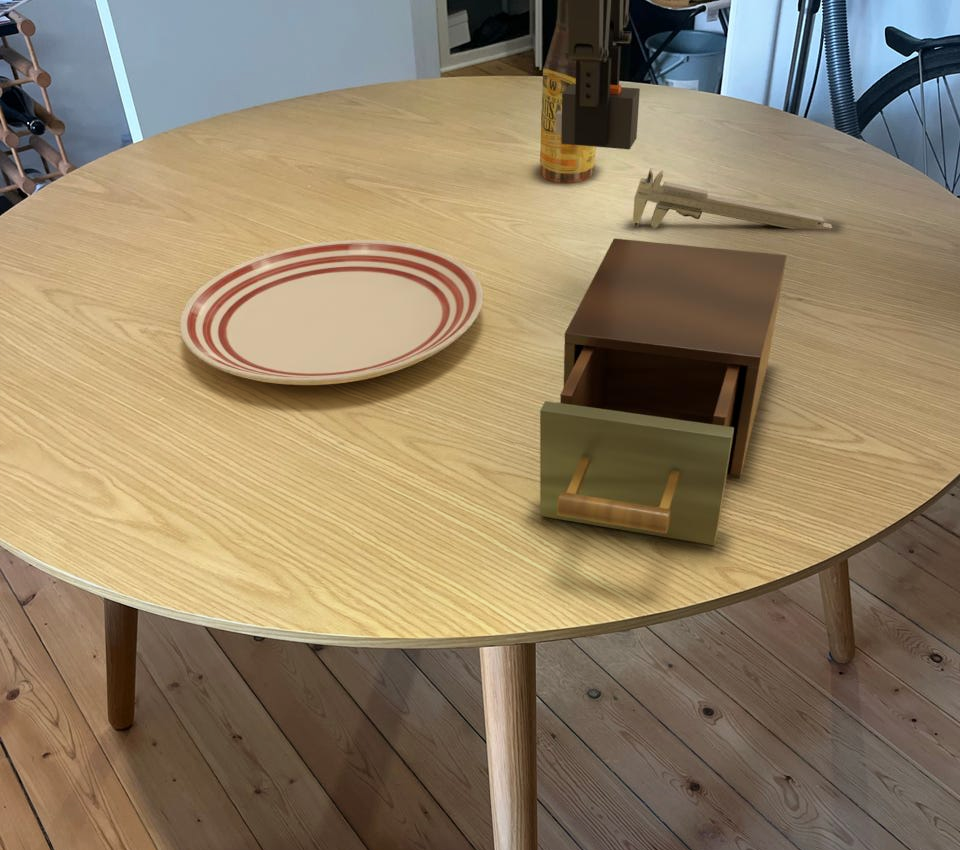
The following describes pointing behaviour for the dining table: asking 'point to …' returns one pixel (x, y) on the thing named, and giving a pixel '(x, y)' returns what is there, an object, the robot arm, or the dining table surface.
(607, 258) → the cabinet
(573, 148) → the sauce bottle
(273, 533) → the dining table surface
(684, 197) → the caliper
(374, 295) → the dinner plate
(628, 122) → the dark grey block
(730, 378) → the drawer
